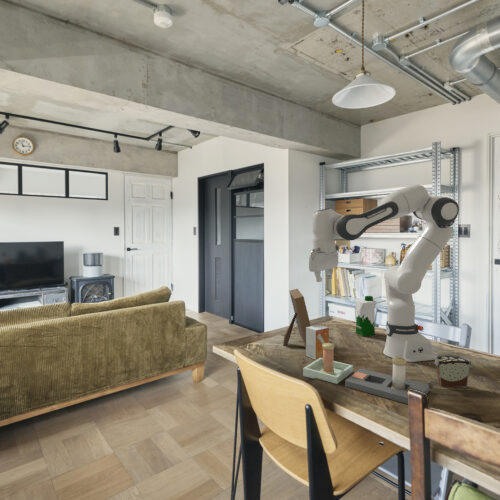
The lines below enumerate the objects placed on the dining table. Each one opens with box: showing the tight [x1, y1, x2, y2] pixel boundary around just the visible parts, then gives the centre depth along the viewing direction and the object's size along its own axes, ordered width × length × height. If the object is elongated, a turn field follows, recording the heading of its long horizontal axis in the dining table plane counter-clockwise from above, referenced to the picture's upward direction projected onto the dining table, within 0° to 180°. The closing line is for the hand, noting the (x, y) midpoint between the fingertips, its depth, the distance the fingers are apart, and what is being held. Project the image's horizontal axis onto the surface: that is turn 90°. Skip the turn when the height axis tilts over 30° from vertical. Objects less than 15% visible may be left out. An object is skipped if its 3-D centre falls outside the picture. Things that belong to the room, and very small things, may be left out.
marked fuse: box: [322, 342, 335, 375], centre depth 136 cm, size 4×4×11 cm
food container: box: [434, 353, 472, 388], centre depth 126 cm, size 12×6×10 cm, turn 92°
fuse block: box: [344, 368, 430, 405], centre depth 122 cm, size 24×14×3 cm, turn 51°
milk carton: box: [354, 295, 377, 337], centre depth 187 cm, size 9×9×20 cm
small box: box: [305, 324, 330, 361], centre depth 156 cm, size 8×6×13 cm
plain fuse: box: [391, 357, 407, 391], centre depth 120 cm, size 4×4×11 cm
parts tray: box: [302, 358, 354, 385], centre depth 136 cm, size 14×14×3 cm
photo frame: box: [282, 288, 312, 348], centre depth 175 cm, size 15×22×25 cm
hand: (324, 280), depth 149 cm, fingers open, 8 cm apart
